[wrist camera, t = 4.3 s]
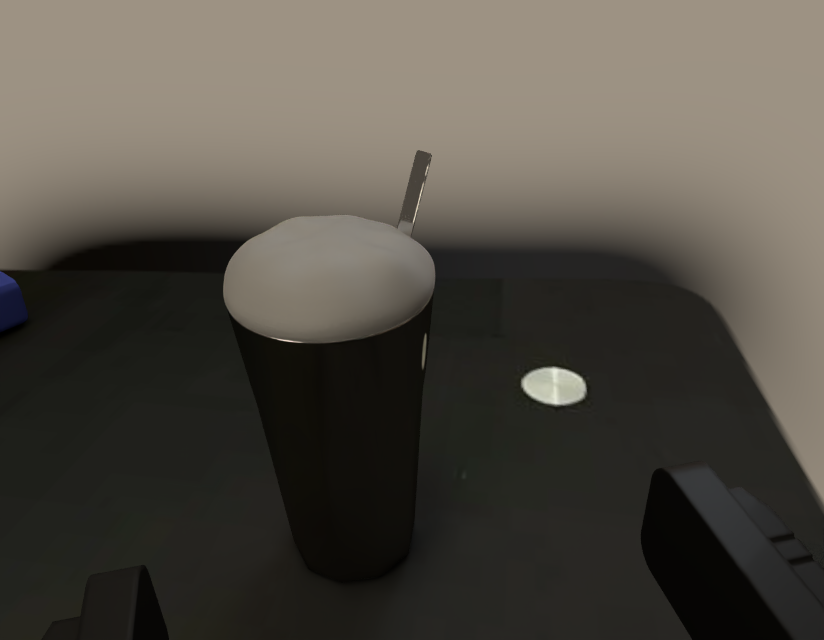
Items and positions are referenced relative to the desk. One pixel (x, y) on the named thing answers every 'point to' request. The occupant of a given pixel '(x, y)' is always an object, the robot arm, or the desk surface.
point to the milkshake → (339, 376)
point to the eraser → (11, 304)
